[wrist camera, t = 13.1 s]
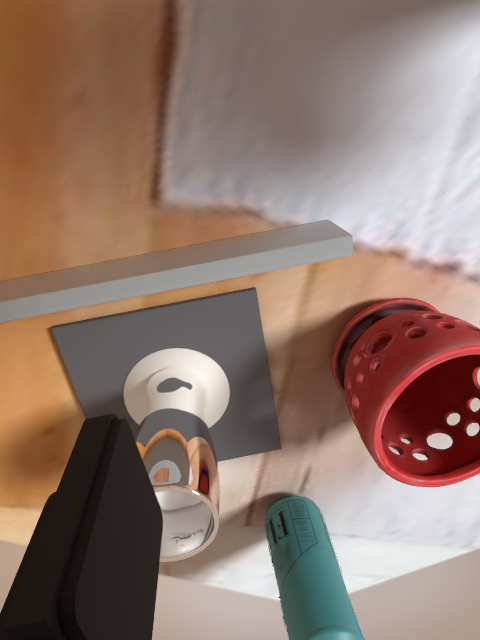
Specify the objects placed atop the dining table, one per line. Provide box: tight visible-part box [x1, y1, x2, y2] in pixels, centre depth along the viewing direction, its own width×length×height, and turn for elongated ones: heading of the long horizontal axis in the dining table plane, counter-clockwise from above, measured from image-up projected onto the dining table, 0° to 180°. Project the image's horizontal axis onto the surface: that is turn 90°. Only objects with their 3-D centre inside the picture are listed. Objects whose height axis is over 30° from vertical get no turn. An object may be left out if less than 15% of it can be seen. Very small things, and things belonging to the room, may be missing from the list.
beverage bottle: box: [265, 496, 365, 640], centre depth 40 cm, size 6×7×20 cm
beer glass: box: [134, 367, 220, 562], centre depth 34 cm, size 7×7×15 cm
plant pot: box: [332, 298, 480, 487], centre depth 37 cm, size 13×13×12 cm
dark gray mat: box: [52, 287, 281, 462], centre depth 41 cm, size 18×18×1 cm
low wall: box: [0, 220, 353, 323], centre depth 34 cm, size 28×2×6 cm, turn 99°
